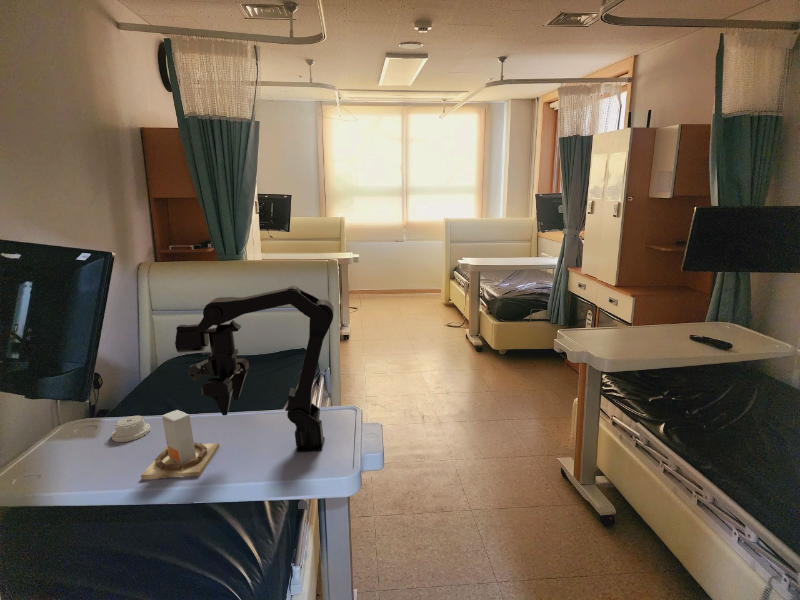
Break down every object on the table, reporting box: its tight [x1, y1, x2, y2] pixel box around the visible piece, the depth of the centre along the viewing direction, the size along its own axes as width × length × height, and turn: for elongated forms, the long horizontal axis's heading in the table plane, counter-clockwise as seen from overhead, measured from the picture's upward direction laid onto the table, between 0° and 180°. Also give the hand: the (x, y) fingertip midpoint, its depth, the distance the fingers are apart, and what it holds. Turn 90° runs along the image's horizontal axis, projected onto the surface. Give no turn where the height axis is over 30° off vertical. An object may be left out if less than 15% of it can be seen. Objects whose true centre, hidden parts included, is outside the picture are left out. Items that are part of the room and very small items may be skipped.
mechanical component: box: [111, 415, 151, 443], centre depth 144 cm, size 10×4×10 cm
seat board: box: [140, 442, 220, 481], centre depth 126 cm, size 14×14×2 cm
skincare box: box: [161, 409, 196, 465], centre depth 125 cm, size 6×4×12 cm
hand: (230, 407), depth 127 cm, fingers open, 9 cm apart
